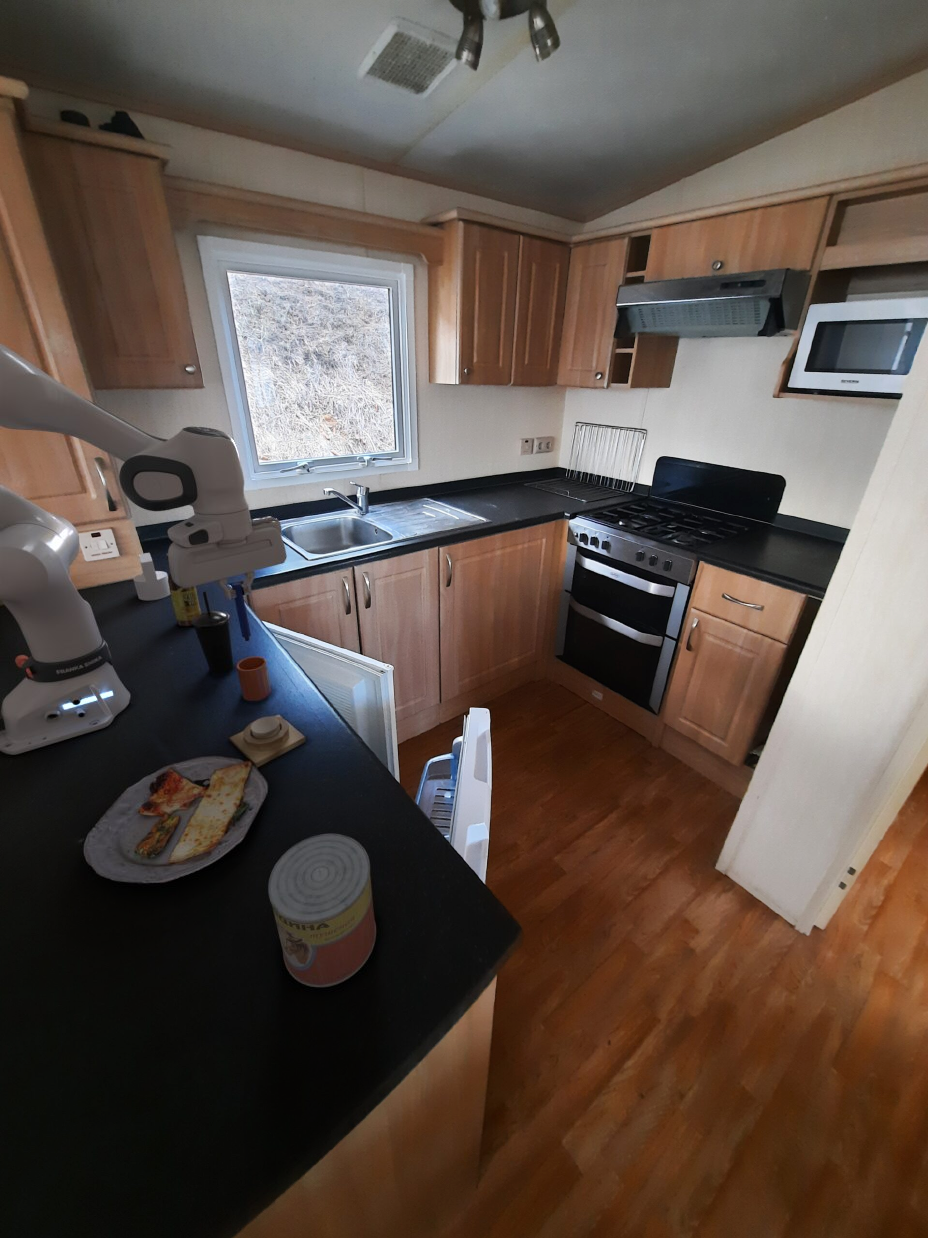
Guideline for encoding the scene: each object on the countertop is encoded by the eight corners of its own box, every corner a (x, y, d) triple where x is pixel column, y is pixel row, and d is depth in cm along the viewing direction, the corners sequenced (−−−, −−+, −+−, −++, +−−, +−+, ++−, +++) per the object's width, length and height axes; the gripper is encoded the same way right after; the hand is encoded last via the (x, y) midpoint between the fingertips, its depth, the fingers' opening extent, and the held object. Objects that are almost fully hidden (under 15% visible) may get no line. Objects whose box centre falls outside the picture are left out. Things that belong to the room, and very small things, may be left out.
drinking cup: (198, 670, 118) (178, 592, 109) (231, 658, 123) (214, 582, 114) (212, 683, 113) (193, 602, 104) (245, 670, 118) (229, 592, 109)
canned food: (263, 953, 62) (246, 888, 56) (330, 881, 70) (321, 819, 65) (330, 1008, 56) (318, 943, 51) (394, 924, 65) (389, 860, 60)
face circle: (260, 743, 92) (258, 737, 91) (247, 731, 95) (245, 724, 94) (285, 731, 95) (284, 724, 94) (272, 719, 98) (270, 713, 97)
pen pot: (251, 706, 106) (244, 674, 103) (238, 695, 110) (231, 663, 106) (276, 694, 110) (271, 663, 106) (263, 684, 113) (257, 653, 110)
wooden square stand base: (256, 768, 90) (253, 755, 88) (230, 742, 96) (227, 729, 94) (306, 741, 96) (304, 729, 95) (279, 719, 102) (277, 706, 101)
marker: (245, 643, 99) (234, 586, 94) (241, 640, 100) (230, 583, 95) (253, 640, 100) (242, 583, 95) (249, 637, 101) (238, 581, 96)
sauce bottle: (192, 628, 137) (175, 558, 128) (172, 626, 138) (153, 556, 129) (208, 618, 143) (192, 550, 134) (188, 615, 144) (172, 548, 135)
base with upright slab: (173, 596, 155) (164, 559, 150) (139, 602, 151) (128, 564, 146) (169, 586, 162) (160, 550, 157) (137, 592, 158) (126, 555, 152)
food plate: (158, 762, 91) (153, 746, 89) (287, 766, 90) (284, 751, 89) (53, 890, 68) (44, 873, 67) (223, 897, 68) (218, 880, 66)
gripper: (270, 511, 99) (280, 577, 105) (156, 532, 85) (175, 606, 91) (287, 517, 95) (296, 585, 101) (171, 540, 81) (190, 617, 87)
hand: (238, 596), depth 96 cm, fingers closed on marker, 1 cm apart
